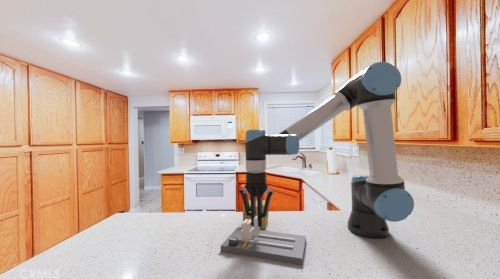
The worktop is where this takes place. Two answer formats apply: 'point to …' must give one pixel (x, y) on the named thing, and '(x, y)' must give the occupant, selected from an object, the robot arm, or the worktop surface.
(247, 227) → the fader
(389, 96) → the robot arm
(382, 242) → the worktop surface
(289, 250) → the console
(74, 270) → the worktop surface
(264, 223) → the cheese
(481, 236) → the worktop surface
